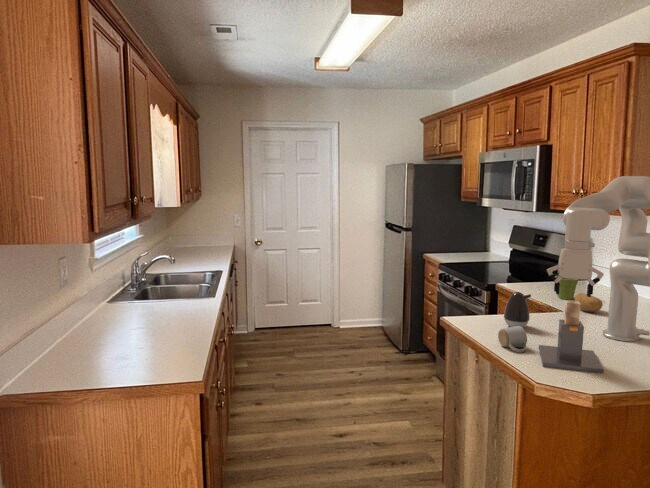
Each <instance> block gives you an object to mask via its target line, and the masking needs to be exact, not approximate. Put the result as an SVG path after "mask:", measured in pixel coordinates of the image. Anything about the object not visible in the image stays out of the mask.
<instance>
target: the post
mask: <svg viewBox="0 0 650 488" xmlns="http://www.w3.org/2000/svg"><path fill="white" fill-rule="evenodd" d="M564 303H565V305H564V319H563V320H564V324H566V325H577V326H579V321H580V313H581V309H580V303H579V301H575V300H572V299H571V300H569V299H565V302H564Z"/></svg>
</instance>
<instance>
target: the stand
mask: <svg viewBox="0 0 650 488" xmlns="http://www.w3.org/2000/svg"><path fill="white" fill-rule="evenodd" d="M584 330H585V327H584V324H583V322H582V321H580V320H579V326H577V325H566V324H564V319H559V320H558V332H557V333H558V335H557V346H555V345H554V346H553V345H545V344H543V345H542V344H538V352H539V356H540V360H541V365H542V367H545V368H551V369H552V368H553V369H559V370H560V369H561V370H562V369H563V370H570V371H575V372H577V371H578V372H586V373H594V374H595V373H596V374H604V367H603V366H602V364H601V362H600V360H599V359H598V357H597V355H596V353H595V352H594V350H592V349H591V350H590V349H583V345H584V333H585V331H584Z"/></svg>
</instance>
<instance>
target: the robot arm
mask: <svg viewBox="0 0 650 488" xmlns="http://www.w3.org/2000/svg"><path fill="white" fill-rule="evenodd" d="M642 209H644V210H650V176H646V175H645V176H644V175H640V176H639V175H624V176H623V175H621V176H618V177H615V178H614V179H612V180H611V181H610V182H609V183H608V184H607V185H606V186H605V187H603V189H601V191H598V192H595V193H592V194H589V195H587V196H584V197H581V198H578V199H576V200H574V201H573V202H572V203H571V204H570V205H569V206H568V207H566V209H565V211H564V212H563V216H562V222H563V224H564V226H565V232H564V233H565V236H564V248H561V249H560V254H559V257H558V263H557V264H556V265H554V266H551V267H549V268H547V269H546V272H547V274H548V277H549V278H550V279H551V280H552V281H553V282H554V284H553V285H554V286H553V287H554V289H553V291H554V292H555V294H556V295H557V296H558V294H559V288H560V283H559V281H560V280H561V279H562V278H567V279H579V280H583V281H587V282H588V284H587V286H586V294H587V296H588V297H591V296H593V293H594V286H595V285H596V284H598V283H599V282H600V281H601V279H602V278H603V277H604V273H603V272H602V271H600V270H598V269H597V268H595V267H593V255H592V250H591V248H595V242H591V232H592V231H602V230H605V229H606V228H607V227H608V226H609V224H610V219H611V218H610V214H609V213H612V212H615V211H617V210H618V211H619V213H620V216H621V226H620V232H619V236H618V237H619V238H618V242H617V243H618V245H617V247H618V252H619V253H620V254H622V255H624V256H630V257H637V258H639V257H640V258H645V259H648V261H647V260H639V259H634V258H633V259H632V258H624V257H623V258H616V259H615V260H612V261H611V263H610V265H609V278H610V280H609V281H610V294H609V295H610V296H609V305H608V306H609V307H608V318H607V328H606V329H604V330H603V331H602V335H603V336H604V337H606V338H609V339H611V340H615V341H621V342H637V341H640V336H650V330H646V329H643V328H638V327H637V316H638V306H639V293H638V291H637V288H636V287H635V286H634V285H637V286H643V287H649V288H650V232H647V228H648V221H649V219H648V217H647V215H646V213H645V212H644V211H643V210H642ZM555 271H557V275H554V274H553V272H555ZM593 273H594V274H596V276H595V278H593V279H592V276H593ZM555 276H557V277H555Z"/></svg>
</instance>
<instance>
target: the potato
mask: <svg viewBox="0 0 650 488" xmlns="http://www.w3.org/2000/svg"><path fill="white" fill-rule="evenodd" d="M574 301H579V303H580V310H581V311H583V312H590V313H595V312H598V311H600V310H601V309H602V308H603V306H604V305H603V304H604V303H603V301H602V300H601V299H600V298H598V297H596V296H593V295H591V297H588V296H587V293H583V292H580V293H576V294H574Z"/></svg>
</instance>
